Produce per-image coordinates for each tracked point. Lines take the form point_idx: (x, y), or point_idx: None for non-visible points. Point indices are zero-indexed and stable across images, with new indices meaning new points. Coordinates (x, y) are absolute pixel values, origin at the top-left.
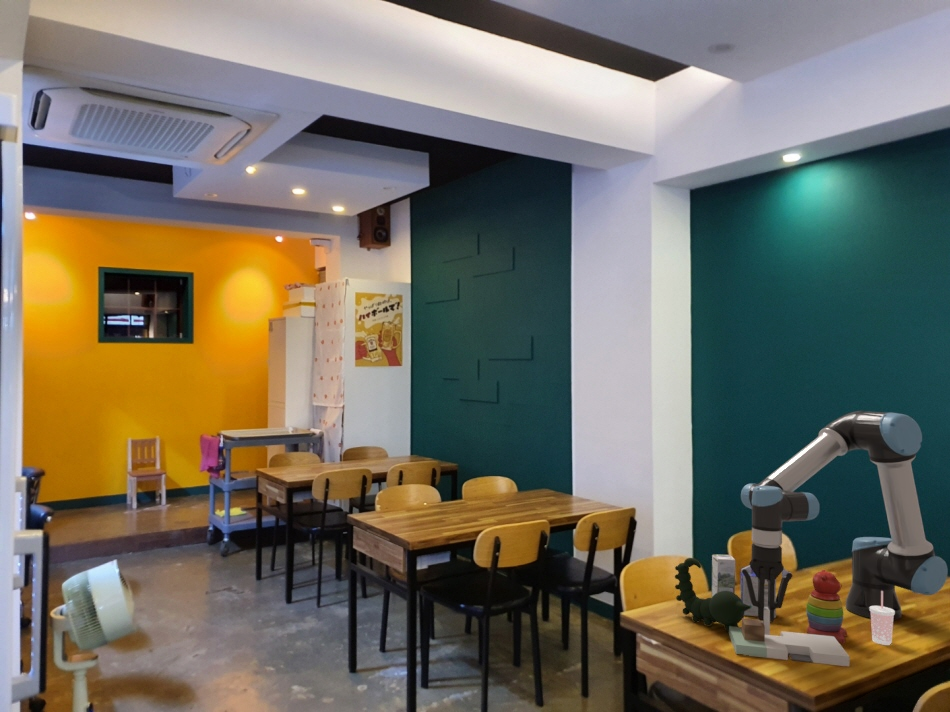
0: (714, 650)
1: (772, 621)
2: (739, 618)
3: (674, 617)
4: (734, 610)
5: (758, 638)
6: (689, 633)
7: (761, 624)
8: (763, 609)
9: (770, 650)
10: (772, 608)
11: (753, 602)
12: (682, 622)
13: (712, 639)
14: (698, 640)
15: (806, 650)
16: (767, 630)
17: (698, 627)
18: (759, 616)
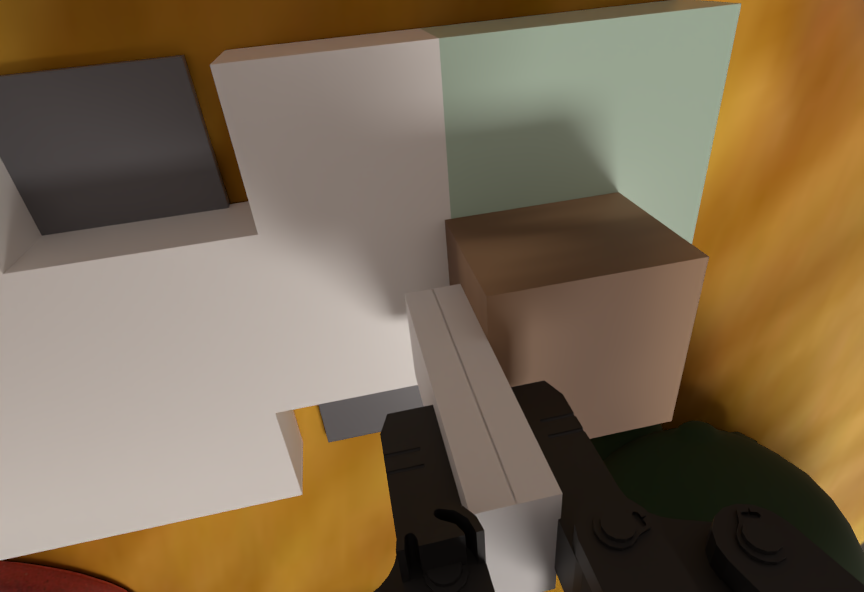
0: (829, 27)
1: (395, 412)
2: (618, 486)
3: (836, 468)
4: (708, 519)
5: (506, 220)
6: (861, 294)
7: (513, 343)
8: (559, 511)
9: (396, 41)
10: (440, 550)
11: (794, 558)
12: (825, 429)
13: (755, 258)
14: (859, 198)
15: (48, 251)
16: (434, 313)
17: (766, 404)
18: (566, 415)
